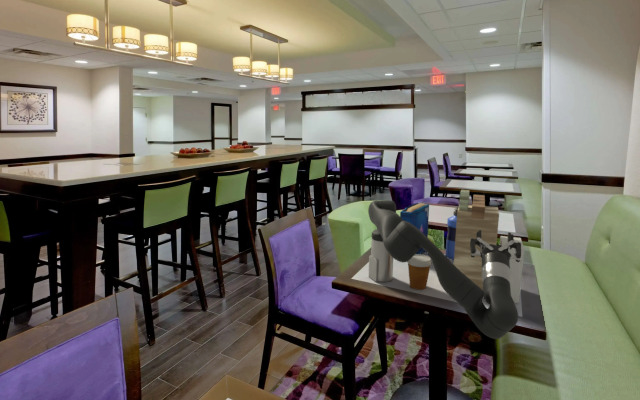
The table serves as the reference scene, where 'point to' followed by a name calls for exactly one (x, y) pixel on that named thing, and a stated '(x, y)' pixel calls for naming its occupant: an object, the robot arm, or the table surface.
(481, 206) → the walnut block
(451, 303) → the table surface
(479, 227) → the birch rack
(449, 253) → the water bottle
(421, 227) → the book
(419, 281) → the disposable coffee cup
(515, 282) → the grey rectangular block
